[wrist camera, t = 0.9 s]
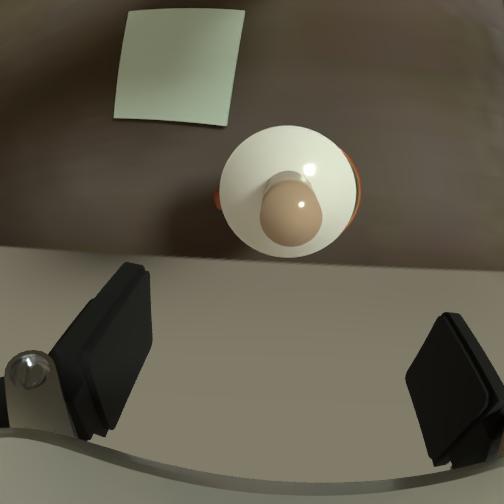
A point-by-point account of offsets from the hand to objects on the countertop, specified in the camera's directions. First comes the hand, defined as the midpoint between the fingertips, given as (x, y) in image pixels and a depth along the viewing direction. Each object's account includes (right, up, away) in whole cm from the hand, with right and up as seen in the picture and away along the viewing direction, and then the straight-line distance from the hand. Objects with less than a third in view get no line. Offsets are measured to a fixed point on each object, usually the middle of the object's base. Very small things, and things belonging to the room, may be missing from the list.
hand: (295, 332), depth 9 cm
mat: (-9, +22, +19) cm, 31 cm away
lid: (+1, +7, +14) cm, 16 cm away
